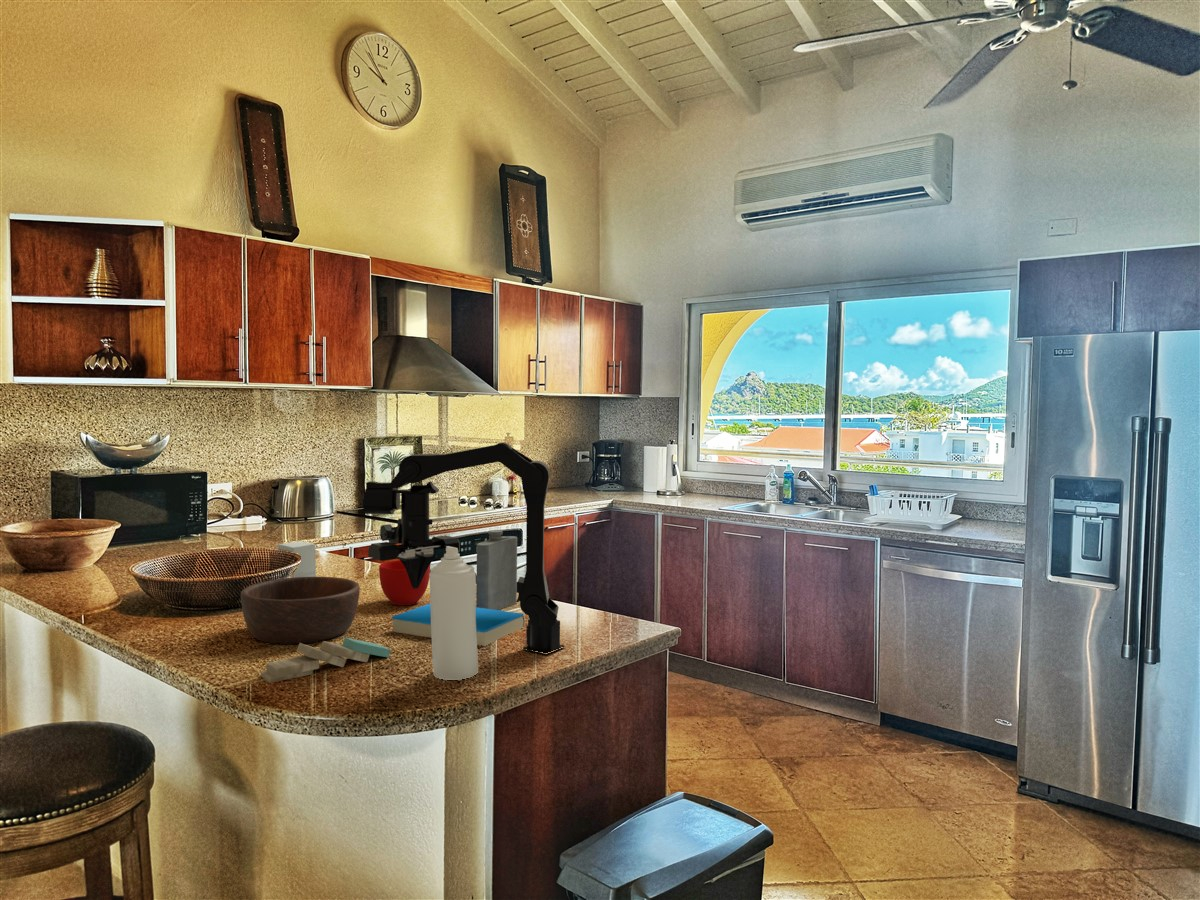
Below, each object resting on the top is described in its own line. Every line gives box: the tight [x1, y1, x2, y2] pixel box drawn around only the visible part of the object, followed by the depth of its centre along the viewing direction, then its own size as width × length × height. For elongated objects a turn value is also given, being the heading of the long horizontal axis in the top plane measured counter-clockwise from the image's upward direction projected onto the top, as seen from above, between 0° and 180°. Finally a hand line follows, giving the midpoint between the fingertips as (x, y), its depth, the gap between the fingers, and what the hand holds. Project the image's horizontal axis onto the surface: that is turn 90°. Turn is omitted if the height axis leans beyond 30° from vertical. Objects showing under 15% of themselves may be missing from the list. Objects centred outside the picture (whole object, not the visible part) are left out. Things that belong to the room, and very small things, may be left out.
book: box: [391, 603, 525, 647], centre depth 186 cm, size 17×4×25 cm
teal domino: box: [342, 637, 392, 658], centre depth 164 cm, size 2×5×8 cm
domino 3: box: [296, 643, 348, 668], centre depth 157 cm, size 2×5×8 cm
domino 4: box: [319, 640, 371, 663], centre depth 160 cm, size 2×5×8 cm
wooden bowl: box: [240, 576, 361, 645], centre depth 182 cm, size 25×25×10 cm
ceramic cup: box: [378, 559, 431, 606], centre depth 213 cm, size 13×17×10 cm
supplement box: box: [277, 540, 317, 578], centre depth 225 cm, size 7×7×13 cm
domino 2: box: [260, 669, 314, 684], centre depth 153 cm, size 2×5×8 cm
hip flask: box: [476, 529, 518, 611], centre depth 205 cm, size 16×4×20 cm, turn 154°
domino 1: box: [265, 654, 320, 678], centre depth 153 cm, size 2×5×8 cm
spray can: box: [429, 546, 479, 681], centre depth 153 cm, size 12×11×25 cm
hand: (415, 588), depth 170 cm, fingers closed
